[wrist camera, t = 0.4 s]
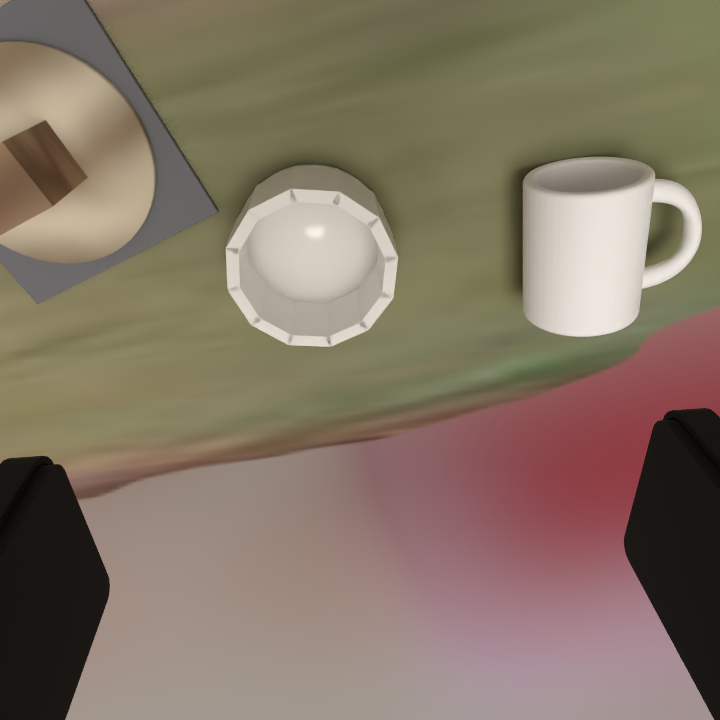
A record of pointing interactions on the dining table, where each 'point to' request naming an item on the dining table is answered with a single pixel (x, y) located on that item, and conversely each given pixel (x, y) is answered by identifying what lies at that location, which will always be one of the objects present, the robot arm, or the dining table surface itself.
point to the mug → (595, 242)
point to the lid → (68, 157)
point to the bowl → (311, 257)
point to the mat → (174, 174)
